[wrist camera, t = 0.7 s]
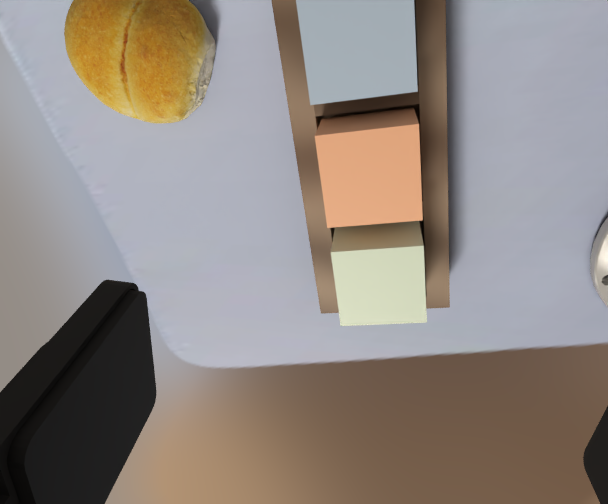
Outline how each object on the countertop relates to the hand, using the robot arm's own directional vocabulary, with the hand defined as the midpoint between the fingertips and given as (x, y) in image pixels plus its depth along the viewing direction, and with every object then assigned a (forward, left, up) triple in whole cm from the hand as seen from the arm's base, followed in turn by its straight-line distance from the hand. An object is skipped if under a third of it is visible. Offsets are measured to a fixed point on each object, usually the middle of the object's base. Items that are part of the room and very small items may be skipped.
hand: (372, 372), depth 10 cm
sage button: (-6, +7, -22) cm, 24 cm away
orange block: (-1, +2, -22) cm, 22 cm away
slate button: (+4, -3, -22) cm, 22 cm away
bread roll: (+14, +6, -25) cm, 29 cm away
